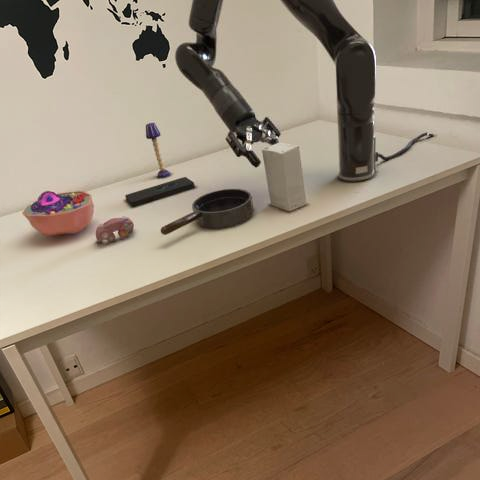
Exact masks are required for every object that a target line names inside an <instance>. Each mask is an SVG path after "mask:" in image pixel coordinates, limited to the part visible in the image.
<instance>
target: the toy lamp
mask: <svg viewBox="0 0 480 480" xmlns="http://www.w3.org/2000/svg"><path fill="white" fill-rule="evenodd" d="M145 137H146V139H147V140H151V141H152V146H153V150H154V153H155V157H156V161H157V164H158V167H159V171H158V172H157V178H159V179H164V178H167V177H170V175H171V173H170V171H169V170H168V169H166V167H165V165H164V161H163V157H162V153H161V151H160V147H159V142H158V138H160V137H161V131H160V130H159V128H158V126H157V125H156V123H155V122H149V123H146V124H145Z"/></svg>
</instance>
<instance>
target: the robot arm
mask: <svg viewBox="0 0 480 480" xmlns="http://www.w3.org/2000/svg"><path fill="white" fill-rule="evenodd" d="M279 1H280V2H281V3H282V5H283V6H284V7H285V8H286V10H287V11H288V12H289V13H290V14H291V16H292V17H294V19H296V20H297V22H298V23H300V24H301V25H302V26H303V27H304V28H305V29H306V30H307V31H308V32H309V33H311V34H312V35H313V36H314V37H315V38H316V39H317V40H318V41H319V43H320V44H321V45H322V46H323V48H324V50H325V51H326V52H327V54H328V56H329V58H330V59H331V60H332V62H333V65H334V66H335V84H336V114H337V115H336V116H337V117H336V118H337V119H336V121H337V143H338V144H337V145H338V147H337V148H338V170H339V171H338V178H339V179H340V180H342V181H345V182H361V181H366V180H368V179H371V178H372V177H374V176H375V172H376V163H377V162H379V158H380V159H381V160H383V161H388V160H392V159H394V158H396V157H398V156H400V155H401V154H403V153H404V152H406V151H407V150H409V149H410V147H411V146H412V145H413V143H416V142H417V141H419V140H420V139H422V138H424V137H426V136H429V137H430V138H432V137H433V138H434V137H435V135H434V133H432V134H429V135H427V132H428V131H426V132H422V133H421V134H419V135H417V136H416V137H414V138H413V139H411V140H410V141H409V142H408V144H407V145H406V146H404V147H403V148H401V149H400V150H399V151H397V152H395V153H394V154H392V155H389V156H385V155H384V154H382V153H379V152H378V151H376V148H377V147H376V145H377V143H376V142H377V141H376V136H375V98H376V73H377V71H376V69H377V67H376V65H377V63H376V60H377V59H376V53H375V50H374V48H373V46H372V44H370V42H369V41H368V40H367V39H366V38H365V37H363V36H362V35H361V34H360V33H359V32H358V31H357V30H356V29H355V28H354V27H353V26H352V24H350V22H349V21H348V20H347V19H346V18H345V17H344V15H343V14H342V13H341V11H340V10H339V8H338V6H337V4H336V3H335V0H279ZM223 5H224V0H192V1H191V5H190V6H191V7H190V11H189V15H188V27H189V28H190V30H191V31H192V32H194V33H195V36H196V39H195V42H188V41H187V42H183V43H181V44H179V45H178V46H177V48H176V49H175V52H174V53H175V54H174V61H175V64H176V66H177V68H178V70H179V72H180V74H181V75H182V76H184V77H185V78H186V79H187V80H188V81H189V82H190V83H191V84H192V85H193V86H194V87H196V88H197V89H198V90H200V92H202V93H203V96H205V97H206V99H207V100H208V102H209V103H210V104H211V105H212V108H213V109H214V111H215V113H216V114H217V115H218V117H219V118H220V120H221V121H222V122H223V123H224V125H225V126H226V128H227V129H228V130H229V131H228V132H227V135H226V137H225V141H226V143H227V144H228V146H229V147H230V148H231V151H233V153H234V154H235V156H236V158H240V157H244V158H246V159H247V160H248V162H249V163H250V164H251V166H252V167H254V168H255V169H257V168H259V167H260V165H261V164H262V162H261V159H260V158H259V156H258V155H257V154H256V153H255V152H254V150H252V145H254V143H258V142H259V143H263V144H264V143H266V144H268V145H270V146H272V145H274V144H277V143H281V142H280V141H279V138H280V137H281V134H282V133H281V131H280V129H278V127H277V126H276V125H275V124H274V123H273V122H272V120H271V119H270V118H269V117H268V116H265V117H264V118H263V120H261V121H260V120H258V119H257V117H256V112H255V111H254V110H253V109H254V108H252V106H251V105H250V104H249V102H247V100H246V99H245V98H244V96H243V95H242V93H241V92H240V91H239V89H238V88H236V87H235V86H234V84H233V83H232V81H230V79H229V78H228V77H227V75H226V74H225V73H224V72H223V71H222V70H221V69H220V68H216V67H214V66H215V63H216V59H217V42H218V41H217V40H218V39H217V38H218V34H217V31H218V30H217V28H218V25H219V22H220V17H221V12H222V9H223ZM240 141H241V142H240Z"/></svg>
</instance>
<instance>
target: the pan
mask: <svg viewBox="0 0 480 480" xmlns="http://www.w3.org/2000/svg"><path fill="white" fill-rule="evenodd" d="M191 208H192V212H196V211H201V216H202V217H200V218H198V219H197V220H195V221H194V222H195V224H197V225H198V226H199V227H201V228H203V229H208V230H224V229H229V228H233V227H236V226H239V225H242V224H244V223H245V222H247V221H248V220H250V219H251V218H252V216H253V215H254V212H255V209H254V201H253V195H252V193H251V192H250V191H248V190H246V189H242V188H223V189H218V190H214V191H210V192H207V193H205V194H202V195H200V196H199V197H197V198H196V199H195V200H193V202H192V204H191Z"/></svg>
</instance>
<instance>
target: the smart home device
mask: <svg viewBox="0 0 480 480" xmlns="http://www.w3.org/2000/svg"><path fill="white" fill-rule="evenodd" d="M195 188H196V186H195V182H194V181H192V180H191V179H190V178H188V177H187V176H183V177H180V178H176V179H174V180H170V181H166V182H164V183H163V182H162V183H160V184H156V185H153V186H150V187H147V188H144V189H140V190H137V191H133V192H130V193H128V194H125V195H124V197H125V201H126V202H127V203H128V204H129V205H130V206H131V207H132V208H135V207H139V206H142V205H145V204H148V203H152V202H156V201H158V200H160V199H164V198H167V197H170V196H173V195H177V194H180V193H184V192H186V191H190V190H193V189H195Z"/></svg>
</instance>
